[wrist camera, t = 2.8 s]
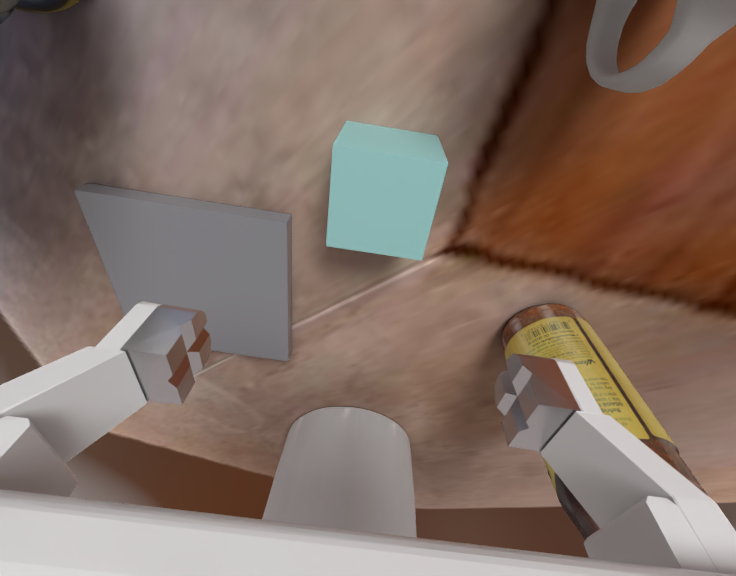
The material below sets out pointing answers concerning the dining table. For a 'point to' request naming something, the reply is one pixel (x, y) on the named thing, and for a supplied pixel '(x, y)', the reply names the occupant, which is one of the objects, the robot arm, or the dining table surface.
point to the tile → (199, 263)
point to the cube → (384, 189)
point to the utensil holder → (345, 474)
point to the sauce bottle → (604, 379)
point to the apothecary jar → (34, 6)
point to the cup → (675, 51)
